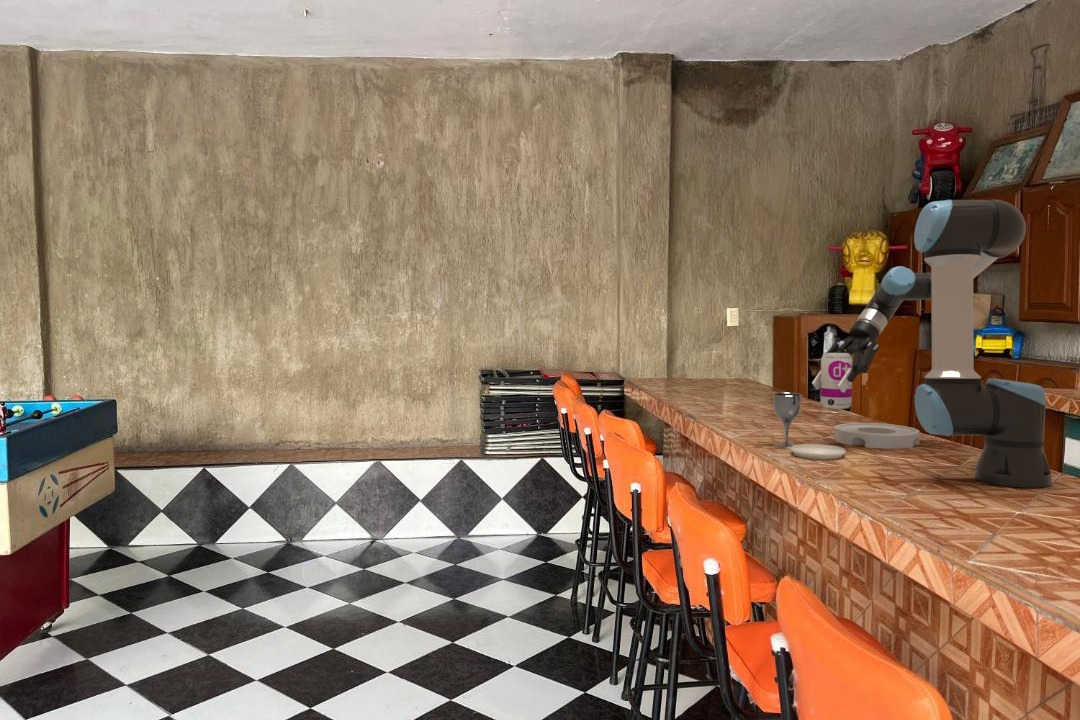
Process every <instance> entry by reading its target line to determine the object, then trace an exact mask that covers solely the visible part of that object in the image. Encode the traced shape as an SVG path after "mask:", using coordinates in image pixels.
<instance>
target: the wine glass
mask: <svg viewBox="0 0 1080 720" xmlns="http://www.w3.org/2000/svg"><path fill="white" fill-rule="evenodd" d="M802 403H803V394H801V393H798V392H783V391H782V392H773V394H772V404H773V410H774V413H775V415H776V416H777V418H778V419H779V420H780V421H781V423H782V425H783V427H784V432H785V433H784V437H785V439H784V441H782V442H779V443H775V444H773V446H774V447H776V448H782V449H791V446H793V445H796V444H795V443H791V442H789V431H790V426H791V425H792V423H793V421H794V420H796V418H797V417H798V416H799V414H800V412H801V409H802Z"/></svg>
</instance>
